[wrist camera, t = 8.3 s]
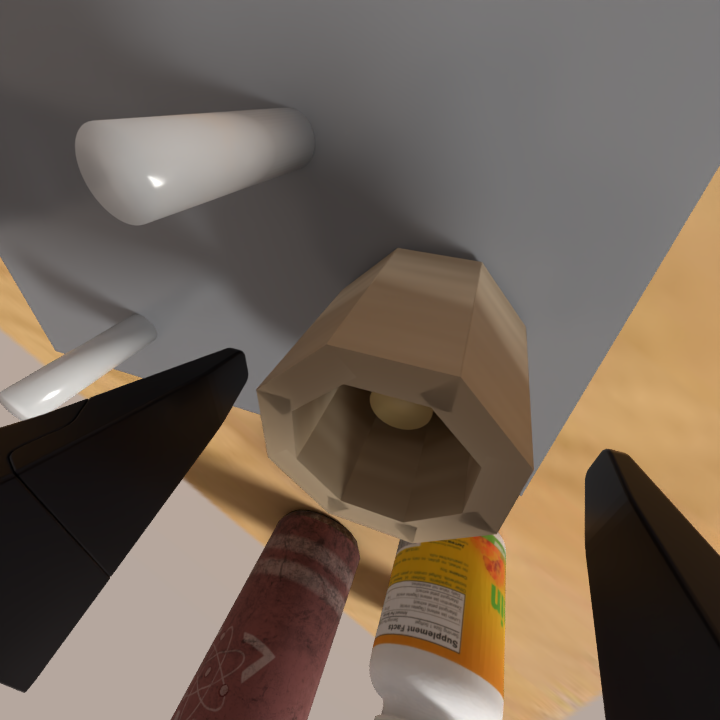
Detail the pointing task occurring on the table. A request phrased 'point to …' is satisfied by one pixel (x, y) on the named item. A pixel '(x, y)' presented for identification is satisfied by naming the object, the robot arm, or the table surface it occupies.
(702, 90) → the slate board
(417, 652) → the supplement bottle
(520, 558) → the table surface
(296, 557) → the can
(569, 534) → the table surface
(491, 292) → the napkin ring
